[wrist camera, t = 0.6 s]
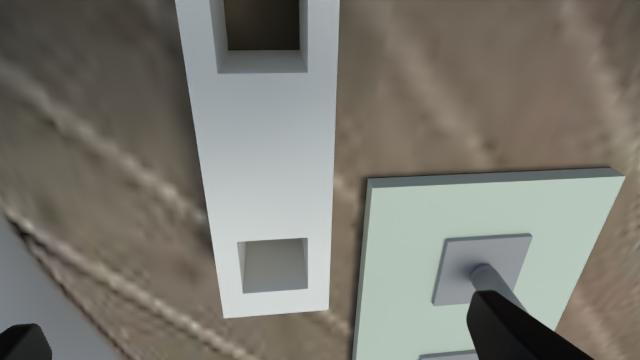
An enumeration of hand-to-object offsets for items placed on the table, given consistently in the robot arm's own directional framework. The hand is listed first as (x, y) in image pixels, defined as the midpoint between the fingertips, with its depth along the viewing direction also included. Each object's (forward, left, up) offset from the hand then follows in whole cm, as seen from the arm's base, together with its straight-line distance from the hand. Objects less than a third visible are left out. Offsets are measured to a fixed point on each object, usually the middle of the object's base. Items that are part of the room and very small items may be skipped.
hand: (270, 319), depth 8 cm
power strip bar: (0, 0, -11) cm, 11 cm away
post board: (-12, +14, -11) cm, 22 cm away
